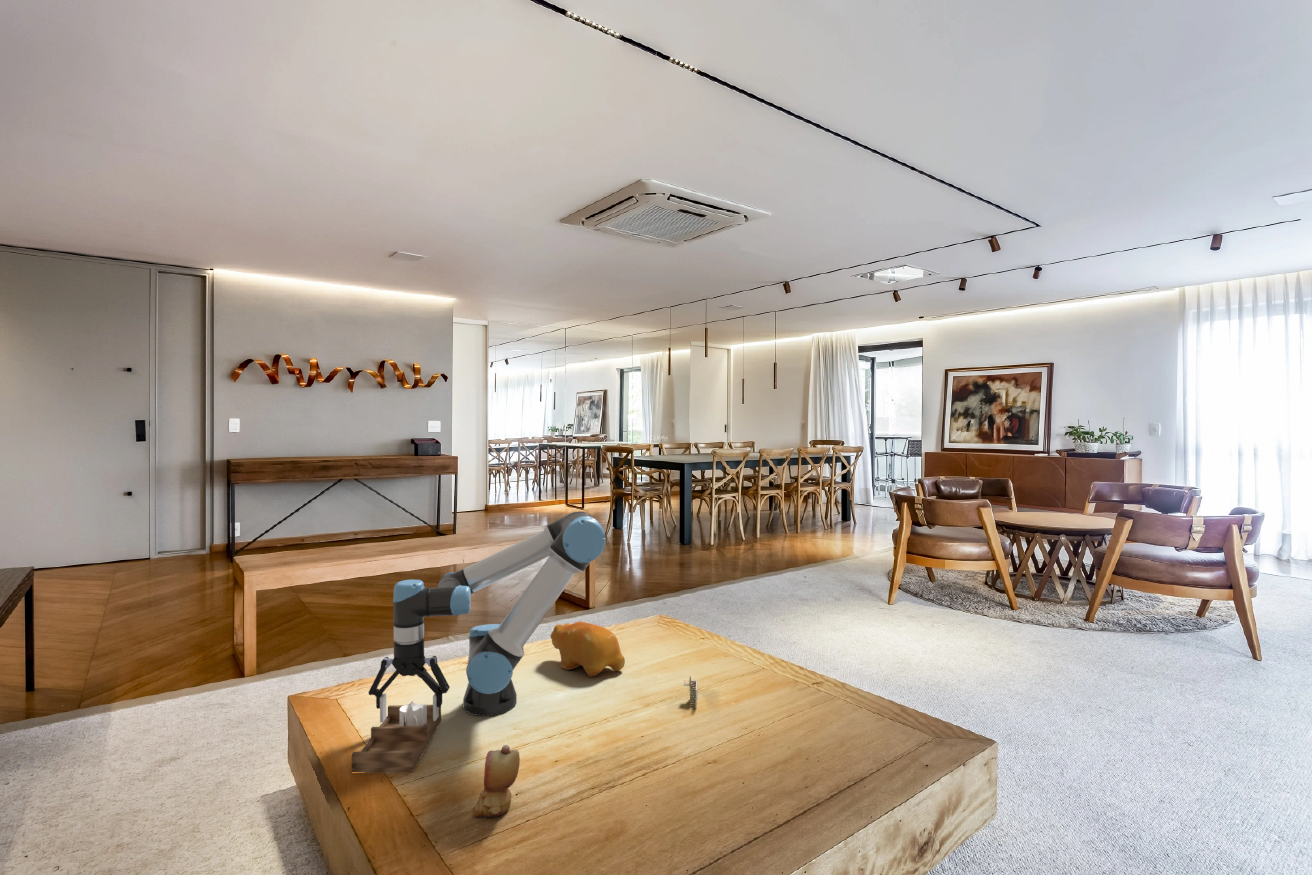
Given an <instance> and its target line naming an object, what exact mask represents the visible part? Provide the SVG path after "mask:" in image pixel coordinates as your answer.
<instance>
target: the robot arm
mask: <svg viewBox="0 0 1312 875" xmlns="http://www.w3.org/2000/svg"><path fill="white" fill-rule="evenodd" d="M544 526H545V527H544V530H542V531H540V532H538V533H535V534H534V535H532V536H530V537H527V538H525V539H524V540H523V539H522V540H521V541H519V542H517V543H514V544H512V545H510V546H508V547H506V548H504V549H502V550H500V551H498V552H495V553H493V554H492V555H489V556H488V557H485V558H483V559H481V560H479V561H477V562H475V563H473V564H471V565H469V566H466V567H464V568H463V569H460V570H458V571H455V572H448V573H446V574H445V575H443V576H442V578H441V579H439V582H438V584H437V586H436V587H425V585H424V581H422V580H421V579H405V580H401V581H398V582H396V583H395V585H393V586H394V587H393V599H392V606H393V608H392V609H393V610H392V611H393V641H394V642H393V658H390V657H388V656H384V658H383V659H382V660H381V661H380V669H379V671H378V673H377V674H376V676H375V678H374V680H373V682H372V684H371V687H370V689H369V690H368V695H370V696H374V697H375V705H376V706H375V707H376V709H377V710H378V709H379V723H382V722H384V720H385V719H386V718H387V716H388V714H387V693H386V692H385V691H386V690H387V689H388V688H389V686H390V685H391V684H392V683H393V681H394V680H395V679H396V678H397V677H398V676H399V675H400V676H402V677H406V676H410V677H415V676H417V677H418V678H419V679H421V680H422V681H423V682H424V683H425V685H427V686H428V688H430V690H431V691H432V692H433V694H434V695H432V705H433V721H436V720H437V718H438V717H439V707H441V708H442V705H443V694H447V693H448V691H449V690H450V685H449V683H448V681H447V679H446V677H445V675H444V674H443V672H442V670H441V668H440V666H439V664H438V657H437V656H436V655H433V656H432V657H427V658H426V656H425V639H424V638H425V620H424V618H431V617H447V616H449V617H450V616H455V617H456V616H457V617H458V616H461V615H467V614H469V613H470V611H471V603H472V602H471V599H472V598H471V597H472V596H471V595H472V594H474V593H476V592H478V591H480V590H482V589H485V588H487V587H488V586H490V585H493V584H495V583H497V582H499V581H501V580H503V579H505V578H507V577H510V576H511V575H513V574H516V573H518V572H520V571H522V570H524V569H526V568H529V567H530V566H532V565H535V564H537V563H539V562H541V561H543V560H544V559H546V558H547V559H546V561H545V562H544V564H543V565H542V566H541V568H540V569H539V570H538V571H537V572H536V573H537V574H535V576H533V578H532V580H531V581H530V582H529V584H528V585H527V586H526V589H525V590H524V591H523V593H522V594H521V595H520V597H519V599H517V600H516V603H514V605H513V606H512V608H510V611H509V612H508V613H507V615H506V616H505V618H504V619H503V620H502V621H501V623H488V624H481V625H480V624H479V625H476V626H473V627H471V629H470V630H469V633H468V634H469V635H468V639H469V640H468V641H469V642H468V643H469V644H468V645H469V647H468V648H469V649H468V658H467V665H466V669H465V671H466V672H465V673H466V676H467V681H468V683H467V685H466V686H467V687H466V690H465V693H464V696H463V699H462V708H463V710H464V711H465V712H466V713H468V714H470V715H474V716H494V715H499V714H503V713H505V712H508V711H510V710H511V709H513V708H514V707H516V705H517V700H518V699H517V696H518V695H517V691H516V689H515V686H514V682H513V680H512V678H513V673H514V672H513V671H514V670H515V669H516V667H517V666H518V664H519V663H520V661H521V660H522V659H523V657H524V656H525V649H524V646H525V645H526V643H527V642H528V640H529V639H530V638H531V636H532V635H533V633H534V632H535V631H536V629H537V628H538V626H540V624H541V622H542V621H543V619H544V618H545V617H546V615H547V614H548V612H549V611H550V610H551V608H552V607H553V606H554V604H555V602H556V601H557V600H558V599H559V597H560V596H561V594H562V592H563V591H564V590H565V589H566V587H568V585H569V583H570V582H571V580H572V579H573V578H574V576H575V575H576V574H579V573H583V572H584V571H585V570H586V569H587V567H588V566H589V565H590V563H591V562H594V560H596V559H598V558H599V557H600V556H601V554H602V553H603V551H604V550H605V546H606V543H607V542H606V532H605V530H604V528H603V526H602V524H601V523H600V522H599V521H598V520H597V519H596V518H595V517H594V516H592V514H590V513H588V512H585V511H580V510H579V511H573V512H570V513H568V514H566V515H564V516H562V517H561V518H558V519H556V520H555V521H552V522H551V523H549V524H547V525H544ZM425 664H427V666H428V667H430V670H431V673H432V674H433V676H434V678H435V679H436V680H435V679H434V678H433V677H432V675H431V674H430V673H429V672H428V670H427V669H426V667H425ZM391 665H392V667H393V668H394V669H395V670H394V671H393V673H392V674H391V675H390V677H389V678H388V679H387V680H386V681H385V682H384V684H382V686H381V688H378V687H379V685H380V683H381V681H382V680H383V677H384V675H385V673H386V671H387V669H388V668H389V667H390V666H391ZM384 692H385V693H384Z"/></svg>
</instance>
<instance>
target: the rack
mask: <svg viewBox="0 0 1312 875" xmlns="http://www.w3.org/2000/svg"><path fill="white" fill-rule="evenodd" d="M404 705H405V704H404ZM404 705H403V704H401V705H399V704H397V705H396V704H394V705H392V704H391V705H388V706H387V718H386V719H385V720H384V722H381V724H380V725H379V726H372V727H371V728H370V739H369V740H368V741H367V742H366V744H365V745H364V746H363V748H362V749H361V750H360V751H352V752H351V756H350V758H351V773H352V772H365V773H364V774H381V773H382V774H384V773H385V774H387V773H413V771H414V770H415V769H416V767H417V765H418V763H419V762H420V760H421V757H422V756H423V754H424V752H425V751H426V749H427V747H428V746H429V743H430V742H431V740H432V738H433V736H434V735H435V733H436V731H437V729H438V728H439V726H440V724H441V722H442V706H441V707H439V717H438V718H437V720H436V721H433V704H426V705H427V724H423V726H400V710H399V709H400V708H401V707H402V706H404Z"/></svg>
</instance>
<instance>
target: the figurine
mask: <svg viewBox="0 0 1312 875" xmlns="http://www.w3.org/2000/svg"><path fill="white" fill-rule="evenodd" d="M520 764H521V758H520V752H519V750H518V749H511V747H510V745H508V744H504V745H502V747H501V749H498V750H488V752H487V754H486V756H485V763H484V775H483V790H480V793H479V797H478V799H477V804H475V806H474V809H473V816H472V818H475V819H482V818H486V819H488V818H489V819H490V818H495V817H498V816H499V817H500V816H503V815H505V813H508V810H510V808H511V802H512V792H511V791H510V789H509V788H510V787H512V786H513V784H514V783H515V782H516V780H517V777H518V775H519V769H520Z"/></svg>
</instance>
